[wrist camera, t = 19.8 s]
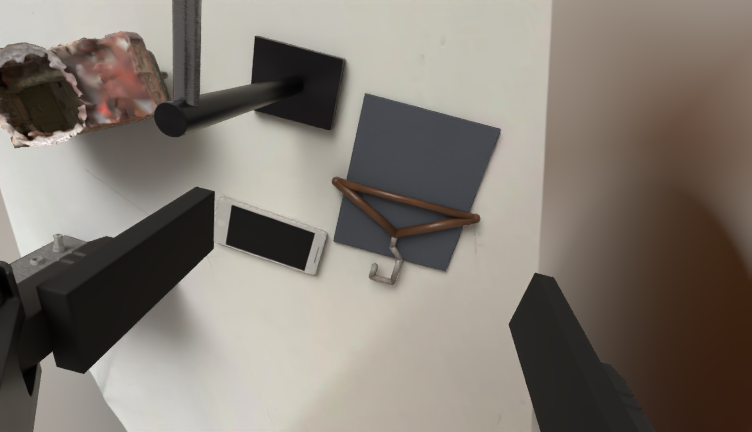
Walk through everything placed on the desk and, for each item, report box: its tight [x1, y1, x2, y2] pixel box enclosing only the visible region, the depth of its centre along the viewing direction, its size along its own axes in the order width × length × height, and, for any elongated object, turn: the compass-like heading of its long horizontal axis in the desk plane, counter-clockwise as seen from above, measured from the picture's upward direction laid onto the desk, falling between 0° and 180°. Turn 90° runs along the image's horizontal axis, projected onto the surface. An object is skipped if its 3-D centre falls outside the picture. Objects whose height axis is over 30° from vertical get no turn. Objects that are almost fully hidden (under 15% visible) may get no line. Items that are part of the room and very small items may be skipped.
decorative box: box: [0, 32, 170, 148], centre depth 40 cm, size 13×20×10 cm, turn 96°
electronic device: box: [9, 234, 86, 283], centre depth 47 cm, size 17×7×20 cm, turn 72°
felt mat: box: [334, 93, 501, 271], centre depth 46 cm, size 16×20×1 cm
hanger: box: [332, 177, 480, 285], centre depth 48 cm, size 19×1×14 cm
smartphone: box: [214, 197, 327, 275], centre depth 51 cm, size 7×16×1 cm, turn 72°
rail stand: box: [154, 0, 345, 137], centre depth 29 cm, size 20×10×24 cm, turn 167°
